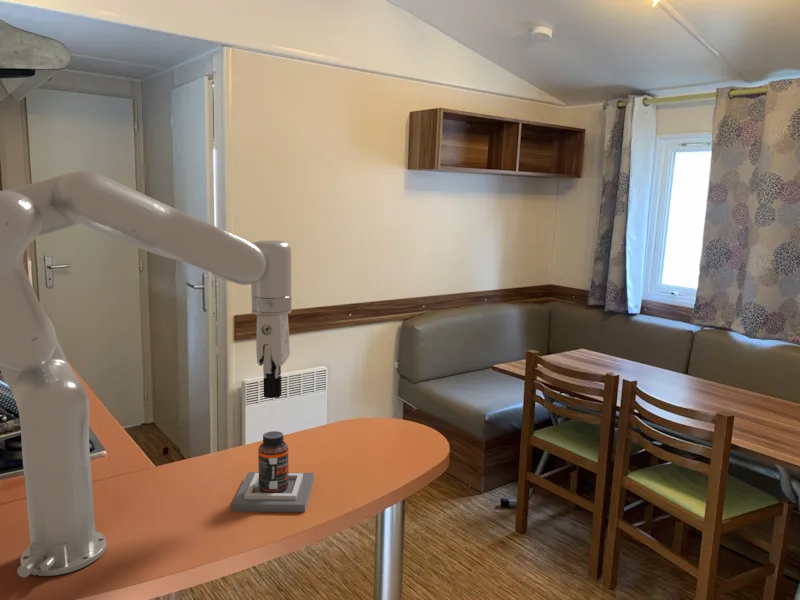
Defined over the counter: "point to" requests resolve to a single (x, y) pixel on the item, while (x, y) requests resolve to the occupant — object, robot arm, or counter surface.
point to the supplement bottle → (273, 463)
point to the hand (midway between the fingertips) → (272, 396)
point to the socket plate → (274, 495)
